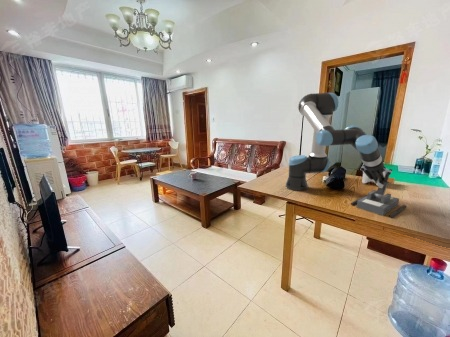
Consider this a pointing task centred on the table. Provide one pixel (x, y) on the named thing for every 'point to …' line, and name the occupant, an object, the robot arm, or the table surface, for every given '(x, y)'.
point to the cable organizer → (366, 179)
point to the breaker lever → (381, 191)
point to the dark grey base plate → (391, 214)
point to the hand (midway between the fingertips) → (381, 186)
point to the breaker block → (377, 203)
